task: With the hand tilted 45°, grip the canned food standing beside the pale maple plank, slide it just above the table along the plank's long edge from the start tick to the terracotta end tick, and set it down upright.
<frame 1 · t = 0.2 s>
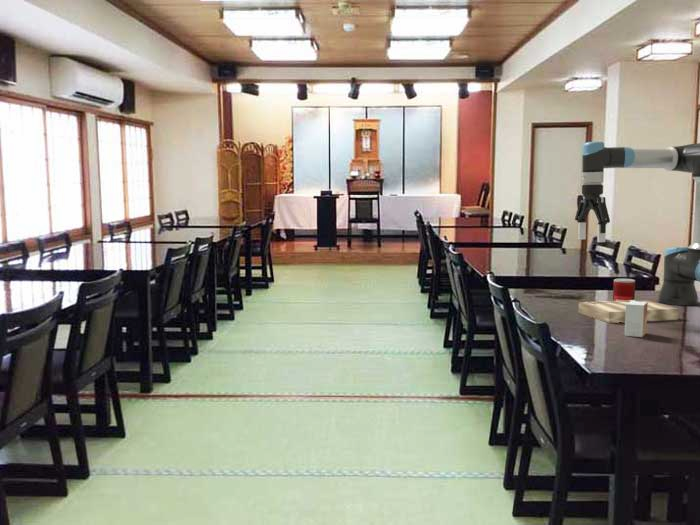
hand: (591, 240, 255), 28 cm above the table, tool pointing down, fingers open, 13 cm apart
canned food: (623, 307, 271), on the table
maple plank: (626, 316, 253), on the table
small box: (635, 335, 222), on the table
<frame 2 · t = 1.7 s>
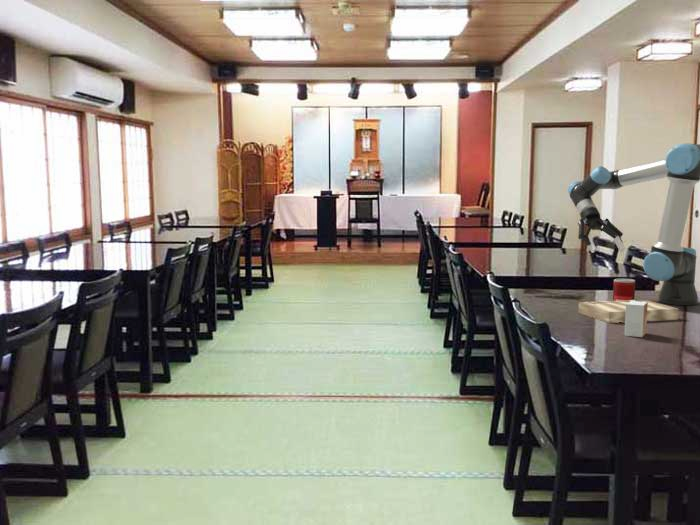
hand: (608, 250, 279), 22 cm above the table, tool tilted 45°, fingers open, 13 cm apart
nothing on the table moved.
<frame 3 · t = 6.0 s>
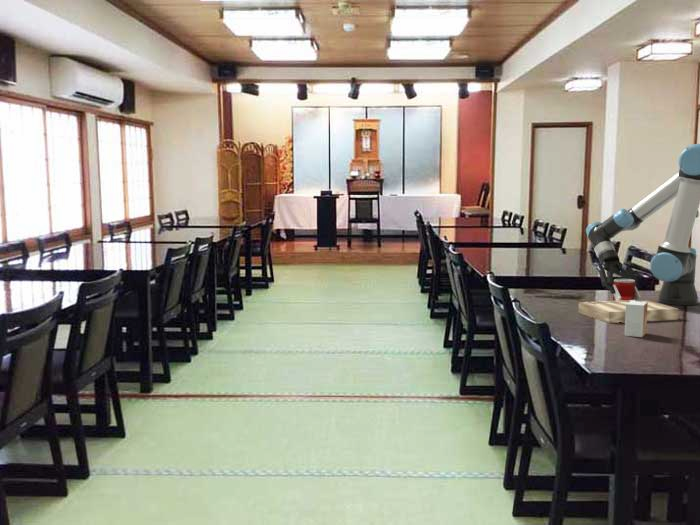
hand: (628, 299, 268), 4 cm above the table, tool tilted 45°, fingers closed on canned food, 8 cm apart
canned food: (623, 307, 271), on the table, touching gripper
everything else where it was.
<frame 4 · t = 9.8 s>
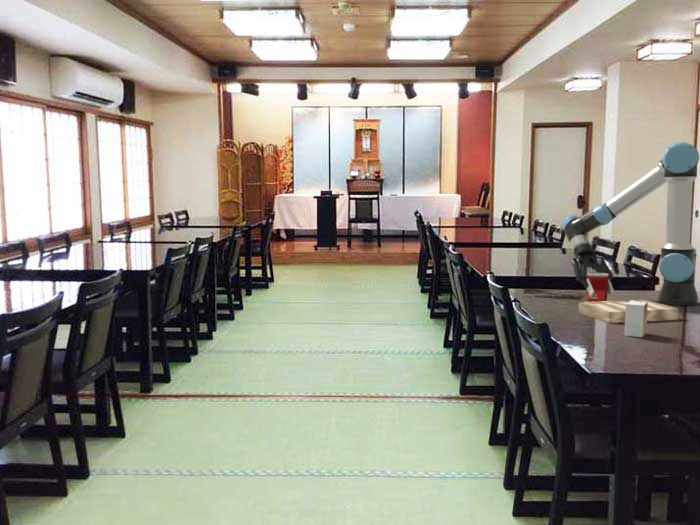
hand: (601, 293, 267), 6 cm above the table, tool tilted 45°, fingers closed on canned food, 8 cm apart
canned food: (596, 301, 271), point 2 cm above the table, touching gripper
everything else where it was.
when the fingers open (4 cm above the table, at t = 13.1 s): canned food stays where it is, on the table.
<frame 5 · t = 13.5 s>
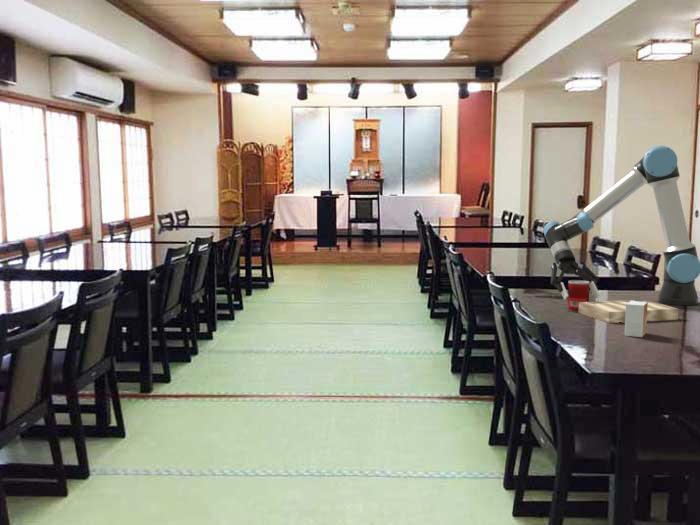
hand: (581, 297, 264), 5 cm above the table, tool tilted 45°, fingers open, 13 cm apart
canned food: (577, 309, 267), on the table
everything else where it was.
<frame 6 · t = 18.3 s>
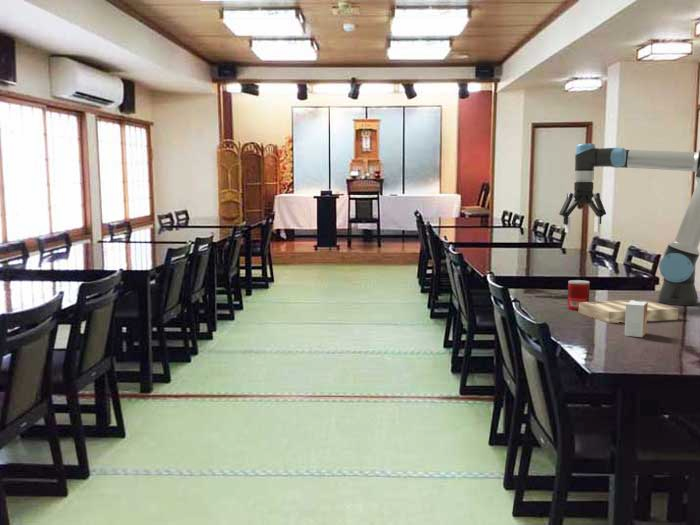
hand: (582, 232, 285), 29 cm above the table, tool pointing down, fingers open, 13 cm apart
nothing on the table moved.
at the end: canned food inside the target area (0.4 cm from its centre), on the table; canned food tilted 0°; the gripper is holding nothing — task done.
